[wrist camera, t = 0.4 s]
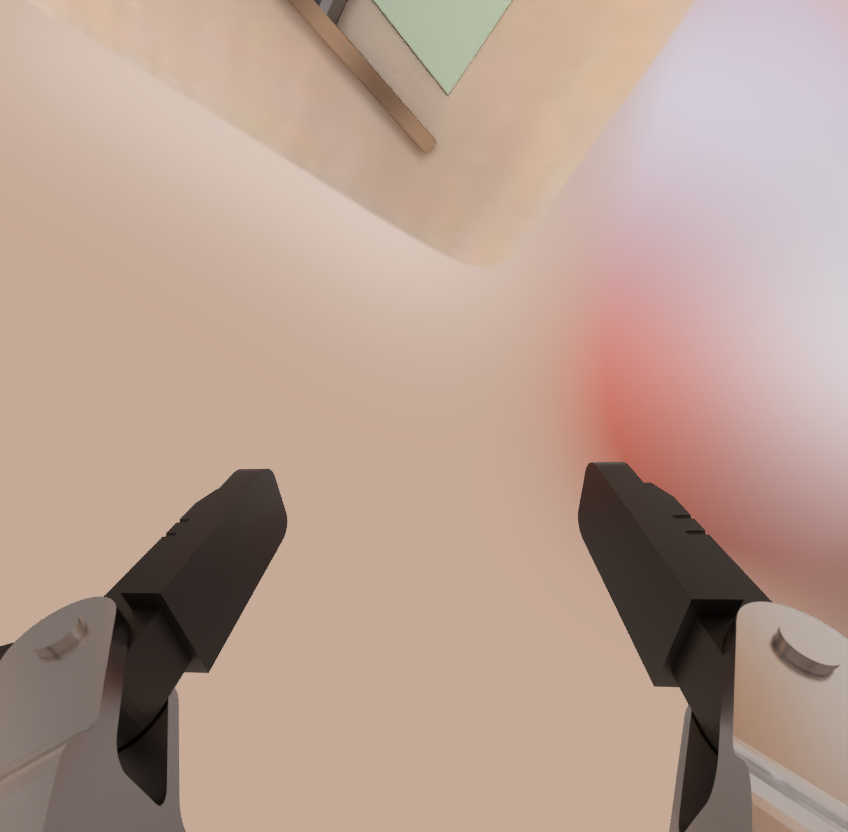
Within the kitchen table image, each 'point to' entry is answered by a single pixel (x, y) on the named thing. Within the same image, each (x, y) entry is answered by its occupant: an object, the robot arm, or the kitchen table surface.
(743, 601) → the robot arm
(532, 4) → the kitchen table surface
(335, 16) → the box
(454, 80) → the pad
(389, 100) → the lane rails
